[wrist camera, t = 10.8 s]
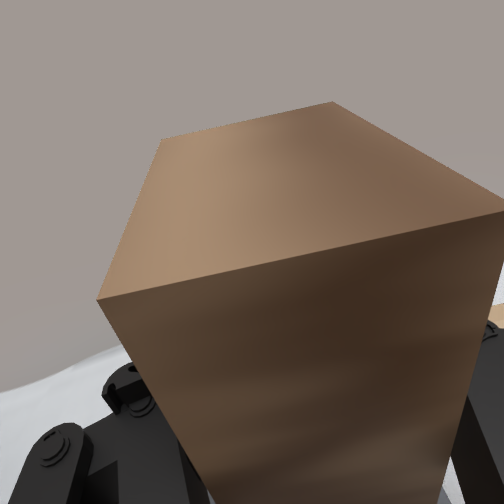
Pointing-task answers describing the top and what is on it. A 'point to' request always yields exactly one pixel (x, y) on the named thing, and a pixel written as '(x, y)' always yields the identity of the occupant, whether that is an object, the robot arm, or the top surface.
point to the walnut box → (307, 306)
